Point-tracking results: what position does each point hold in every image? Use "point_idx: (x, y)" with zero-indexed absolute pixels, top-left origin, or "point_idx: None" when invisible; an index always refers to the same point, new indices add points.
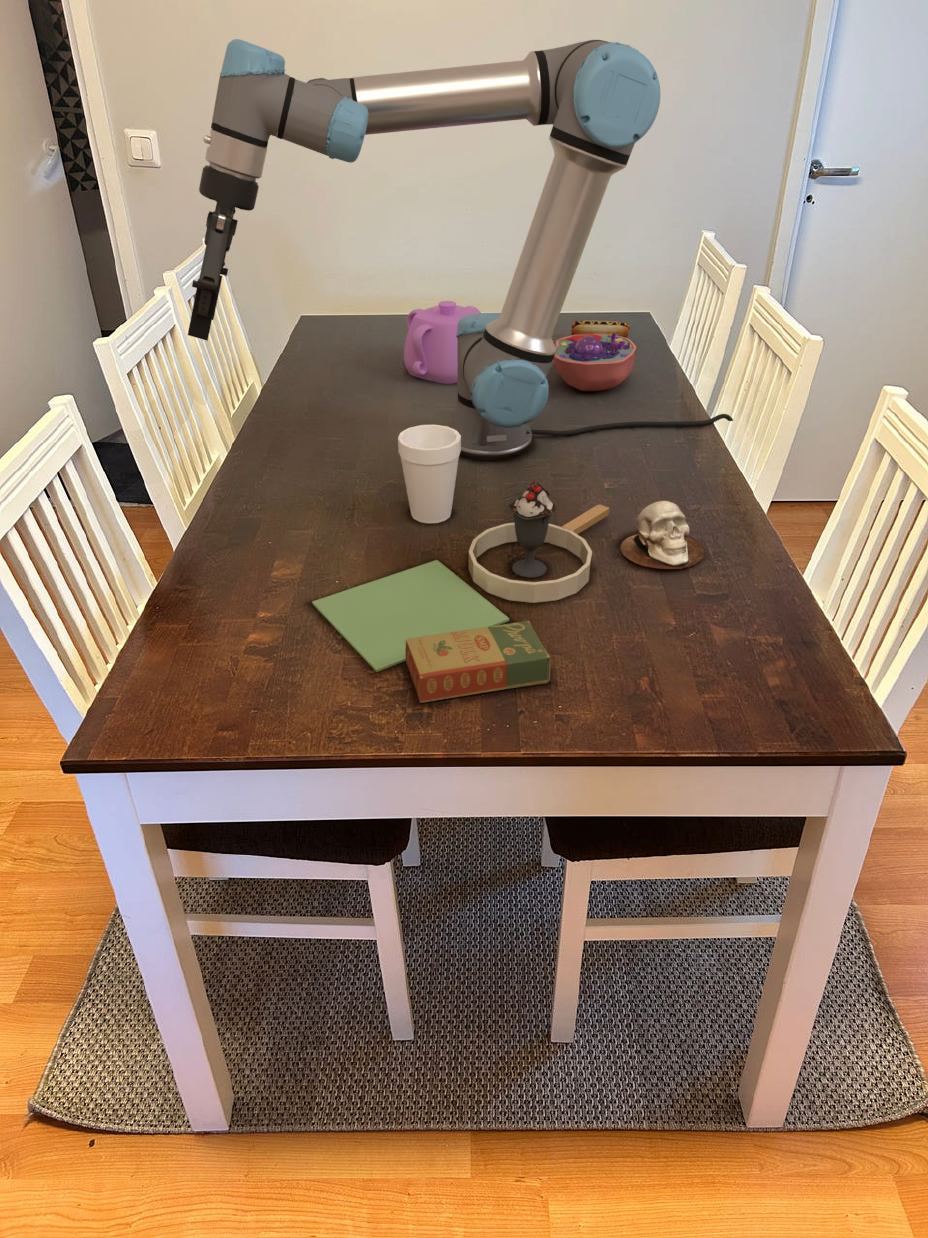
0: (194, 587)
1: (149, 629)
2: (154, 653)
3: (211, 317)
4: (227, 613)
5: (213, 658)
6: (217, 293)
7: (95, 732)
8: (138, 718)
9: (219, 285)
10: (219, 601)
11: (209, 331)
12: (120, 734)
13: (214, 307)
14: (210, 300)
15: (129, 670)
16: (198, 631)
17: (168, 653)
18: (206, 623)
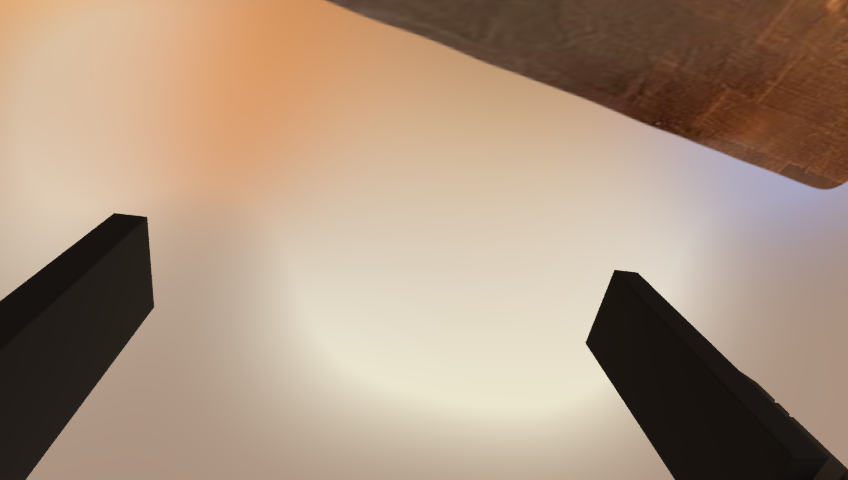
0: (644, 73)
1: (697, 134)
2: (749, 129)
3: (706, 343)
4: (747, 32)
5: (824, 64)
6: (53, 313)
7: (818, 180)
8: (838, 146)
9: (5, 356)
10: (708, 40)
11: (636, 290)
12: (843, 161)
13: (112, 258)
14: (819, 444)
15: (755, 154)
16: (753, 77)
17: (763, 115)
18: (745, 65)
